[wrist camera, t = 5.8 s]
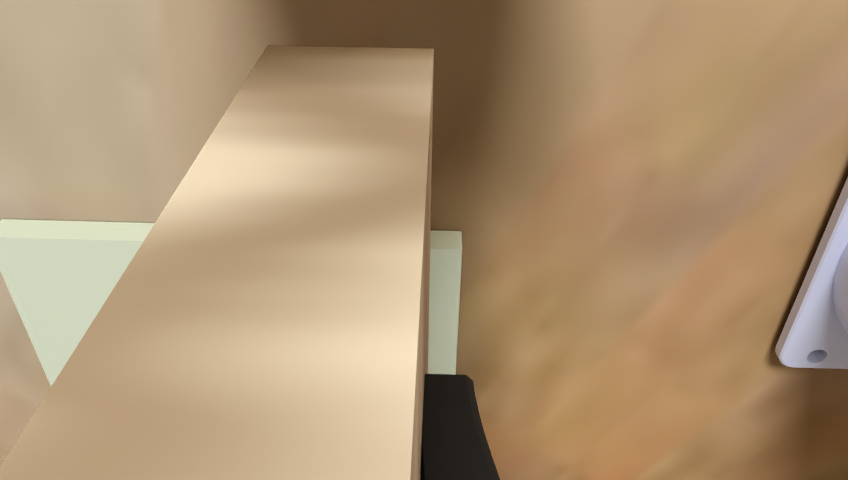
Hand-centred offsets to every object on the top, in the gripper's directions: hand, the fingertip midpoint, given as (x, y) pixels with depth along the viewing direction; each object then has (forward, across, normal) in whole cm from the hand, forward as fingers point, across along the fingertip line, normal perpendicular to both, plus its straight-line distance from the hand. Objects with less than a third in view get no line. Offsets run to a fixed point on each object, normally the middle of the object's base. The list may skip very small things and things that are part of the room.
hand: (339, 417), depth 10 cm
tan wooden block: (+3, 0, 0) cm, 3 cm away
